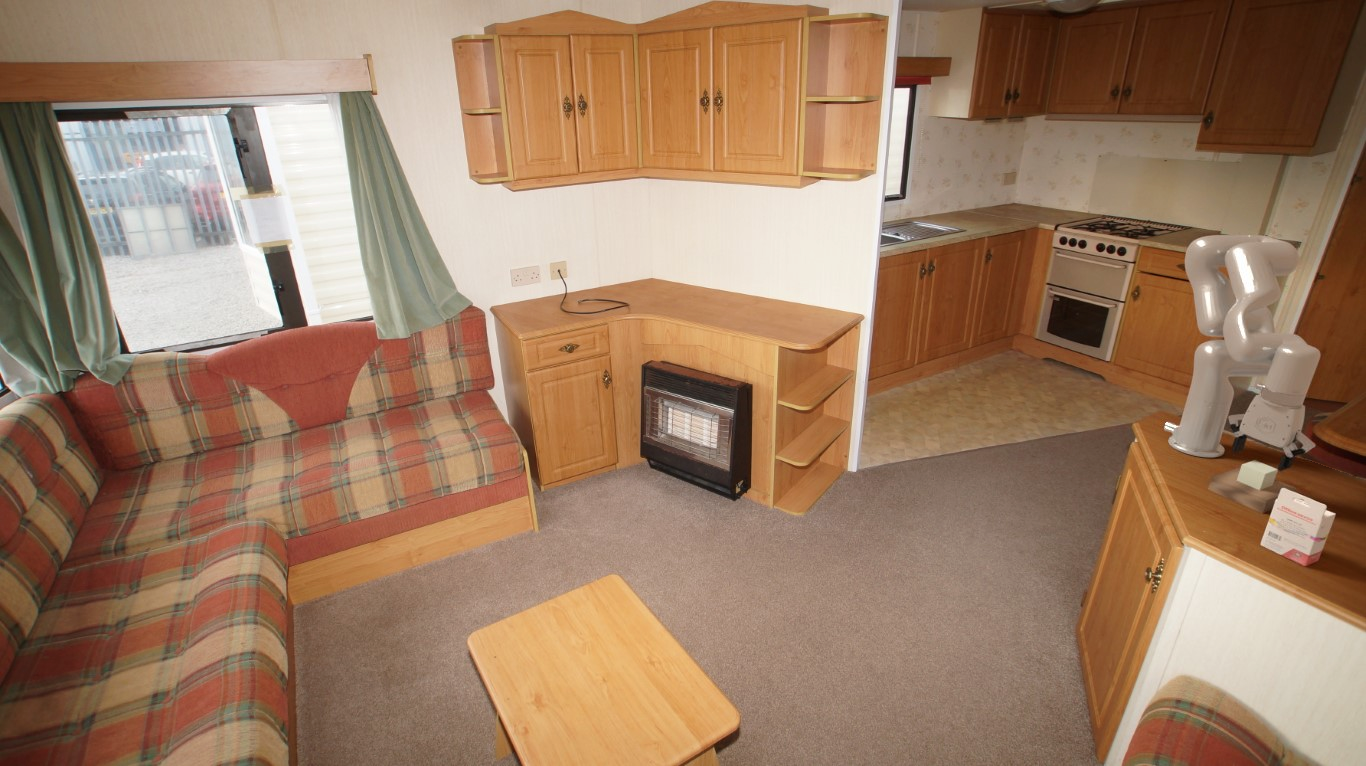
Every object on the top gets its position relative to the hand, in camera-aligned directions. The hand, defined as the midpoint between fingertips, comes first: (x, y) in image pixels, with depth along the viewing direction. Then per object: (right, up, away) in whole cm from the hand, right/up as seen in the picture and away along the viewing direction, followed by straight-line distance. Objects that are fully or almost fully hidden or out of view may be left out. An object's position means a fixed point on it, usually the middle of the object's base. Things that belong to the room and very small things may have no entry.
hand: (1259, 459), depth 160 cm
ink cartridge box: (-9, -18, -18) cm, 27 cm away
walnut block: (0, -9, +3) cm, 10 cm away
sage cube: (0, -6, +2) cm, 6 cm away
